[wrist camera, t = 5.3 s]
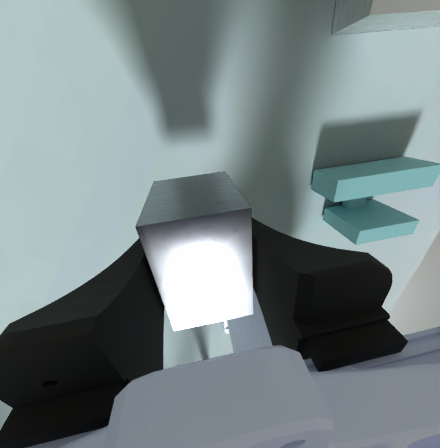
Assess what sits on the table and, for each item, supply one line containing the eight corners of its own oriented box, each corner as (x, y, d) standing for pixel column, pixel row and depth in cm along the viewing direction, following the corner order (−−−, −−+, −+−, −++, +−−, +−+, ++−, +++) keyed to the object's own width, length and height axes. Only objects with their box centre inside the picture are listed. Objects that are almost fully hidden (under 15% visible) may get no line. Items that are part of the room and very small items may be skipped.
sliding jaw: (385, 208, 23) (431, 230, 19) (306, 222, 22) (335, 248, 18) (404, 156, 20) (463, 168, 16) (314, 170, 19) (351, 186, 15)
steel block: (231, 253, 14) (253, 314, 10) (176, 263, 14) (173, 331, 10) (224, 171, 11) (251, 207, 7) (153, 181, 11) (135, 226, 7)
